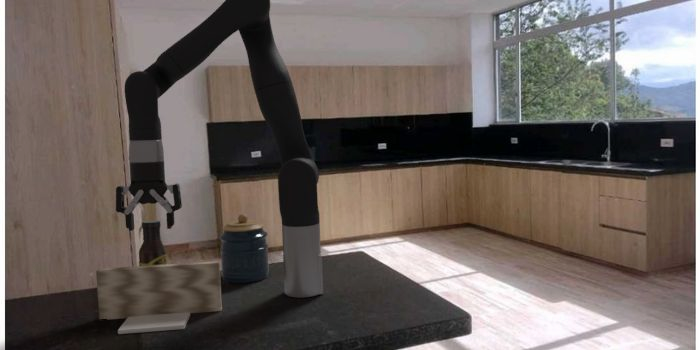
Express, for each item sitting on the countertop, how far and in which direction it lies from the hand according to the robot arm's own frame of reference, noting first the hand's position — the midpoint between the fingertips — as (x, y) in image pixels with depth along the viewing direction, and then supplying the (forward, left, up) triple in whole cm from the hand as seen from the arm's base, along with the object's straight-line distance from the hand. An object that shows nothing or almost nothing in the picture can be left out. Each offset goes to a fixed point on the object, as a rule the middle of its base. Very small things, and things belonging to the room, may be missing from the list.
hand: (150, 229), depth 125 cm
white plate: (-3, +14, -18) cm, 23 cm away
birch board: (-3, +8, -18) cm, 20 cm away
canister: (-20, -19, -18) cm, 33 cm away
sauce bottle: (0, 0, -18) cm, 18 cm away
